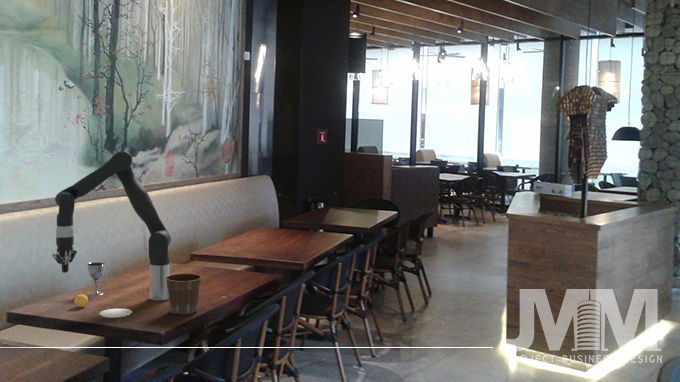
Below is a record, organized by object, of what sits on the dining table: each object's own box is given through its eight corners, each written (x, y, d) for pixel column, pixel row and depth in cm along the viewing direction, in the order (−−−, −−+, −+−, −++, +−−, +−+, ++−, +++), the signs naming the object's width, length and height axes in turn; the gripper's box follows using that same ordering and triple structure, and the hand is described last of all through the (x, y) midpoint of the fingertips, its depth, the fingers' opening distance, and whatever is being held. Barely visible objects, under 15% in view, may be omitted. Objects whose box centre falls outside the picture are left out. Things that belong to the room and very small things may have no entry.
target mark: (132, 308, 324) (132, 307, 324) (131, 316, 310) (131, 316, 310) (100, 309, 320) (100, 309, 320) (98, 318, 307) (98, 317, 307)
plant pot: (158, 310, 321) (158, 276, 320) (188, 305, 333) (189, 271, 331) (177, 318, 310) (177, 282, 308) (208, 312, 321) (208, 277, 319)
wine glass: (108, 293, 349) (108, 263, 348) (95, 296, 342) (95, 266, 341) (97, 291, 353) (97, 261, 352) (84, 294, 346) (84, 264, 345)
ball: (88, 305, 327) (88, 292, 326) (87, 308, 321) (87, 295, 320) (74, 305, 325) (74, 293, 324) (73, 309, 319) (73, 296, 319)
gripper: (69, 232, 331) (69, 268, 333) (47, 236, 319) (47, 273, 321) (81, 234, 328) (81, 270, 330) (60, 238, 316) (60, 275, 318)
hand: (65, 272), depth 325 cm, fingers closed
